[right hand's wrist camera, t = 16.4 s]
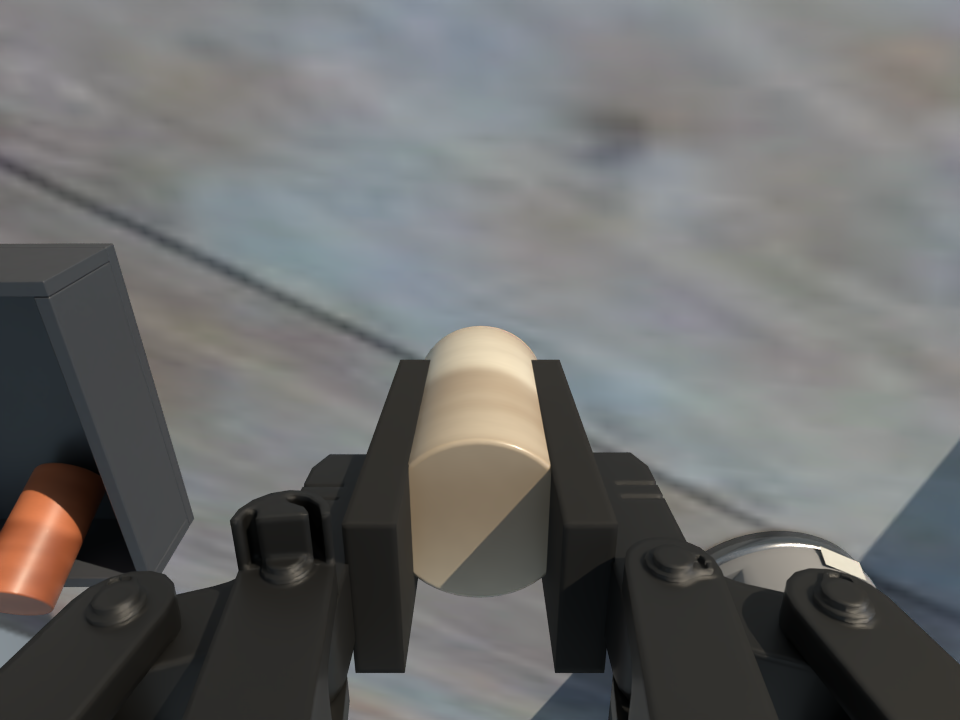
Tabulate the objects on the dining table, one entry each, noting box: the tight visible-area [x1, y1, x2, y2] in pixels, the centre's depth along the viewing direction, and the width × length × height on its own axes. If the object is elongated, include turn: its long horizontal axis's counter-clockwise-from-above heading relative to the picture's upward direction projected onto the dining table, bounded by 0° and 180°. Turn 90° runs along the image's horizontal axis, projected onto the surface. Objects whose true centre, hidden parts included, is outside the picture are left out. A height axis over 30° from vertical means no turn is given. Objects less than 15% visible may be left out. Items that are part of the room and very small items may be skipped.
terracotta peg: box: [0, 463, 106, 615], centre depth 27 cm, size 3×3×6 cm
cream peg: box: [408, 326, 551, 597], centre depth 13 cm, size 3×3×6 cm
